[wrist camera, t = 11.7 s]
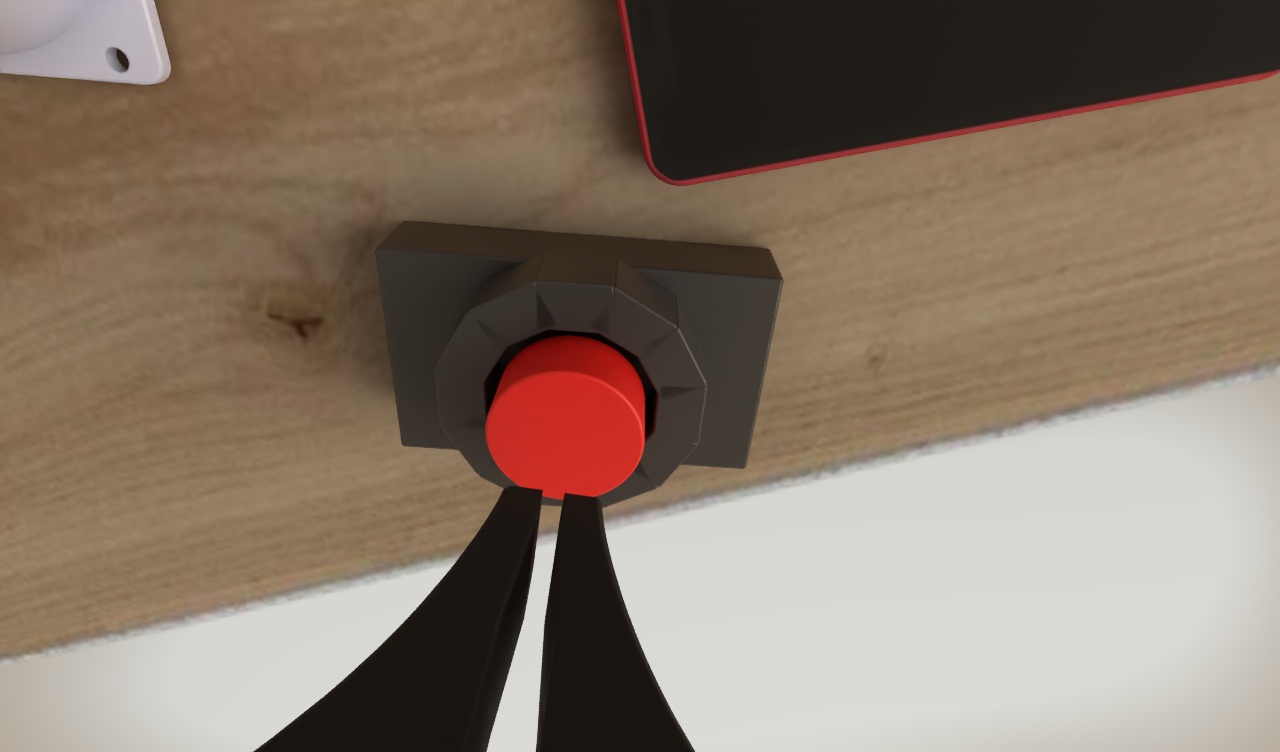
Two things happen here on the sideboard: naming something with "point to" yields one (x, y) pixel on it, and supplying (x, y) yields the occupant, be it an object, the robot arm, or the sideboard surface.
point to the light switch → (579, 334)
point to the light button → (568, 418)
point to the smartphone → (910, 70)
